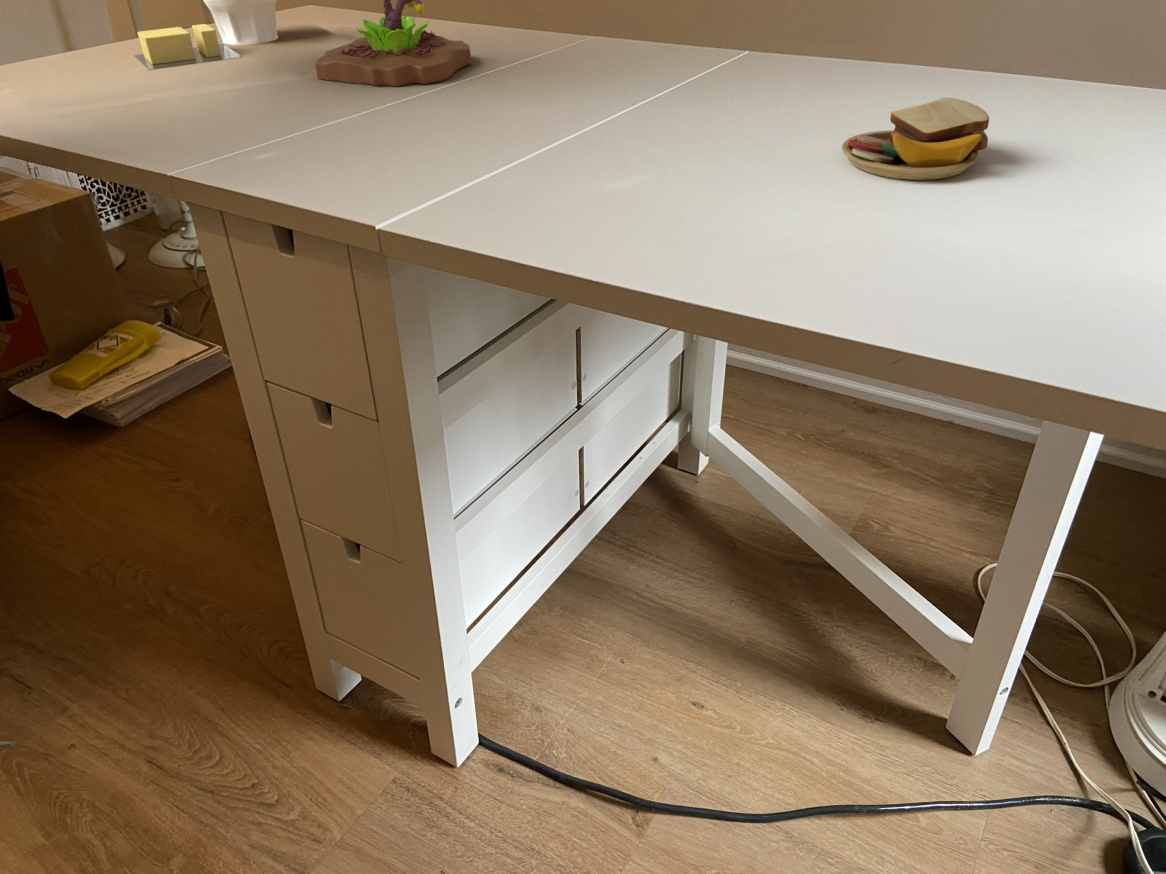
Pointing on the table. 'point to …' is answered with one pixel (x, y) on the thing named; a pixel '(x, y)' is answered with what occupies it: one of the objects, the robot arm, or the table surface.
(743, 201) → the table surface
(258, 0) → the cup
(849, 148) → the toy sandwich meal
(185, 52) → the butter
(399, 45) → the plant
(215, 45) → the butter slice
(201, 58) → the butter dish
